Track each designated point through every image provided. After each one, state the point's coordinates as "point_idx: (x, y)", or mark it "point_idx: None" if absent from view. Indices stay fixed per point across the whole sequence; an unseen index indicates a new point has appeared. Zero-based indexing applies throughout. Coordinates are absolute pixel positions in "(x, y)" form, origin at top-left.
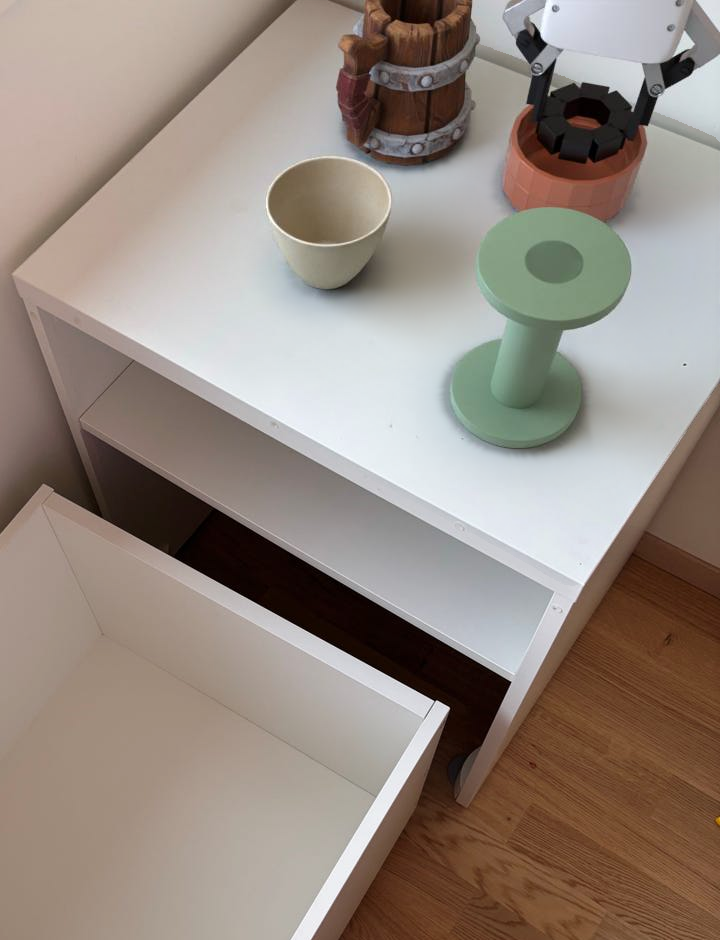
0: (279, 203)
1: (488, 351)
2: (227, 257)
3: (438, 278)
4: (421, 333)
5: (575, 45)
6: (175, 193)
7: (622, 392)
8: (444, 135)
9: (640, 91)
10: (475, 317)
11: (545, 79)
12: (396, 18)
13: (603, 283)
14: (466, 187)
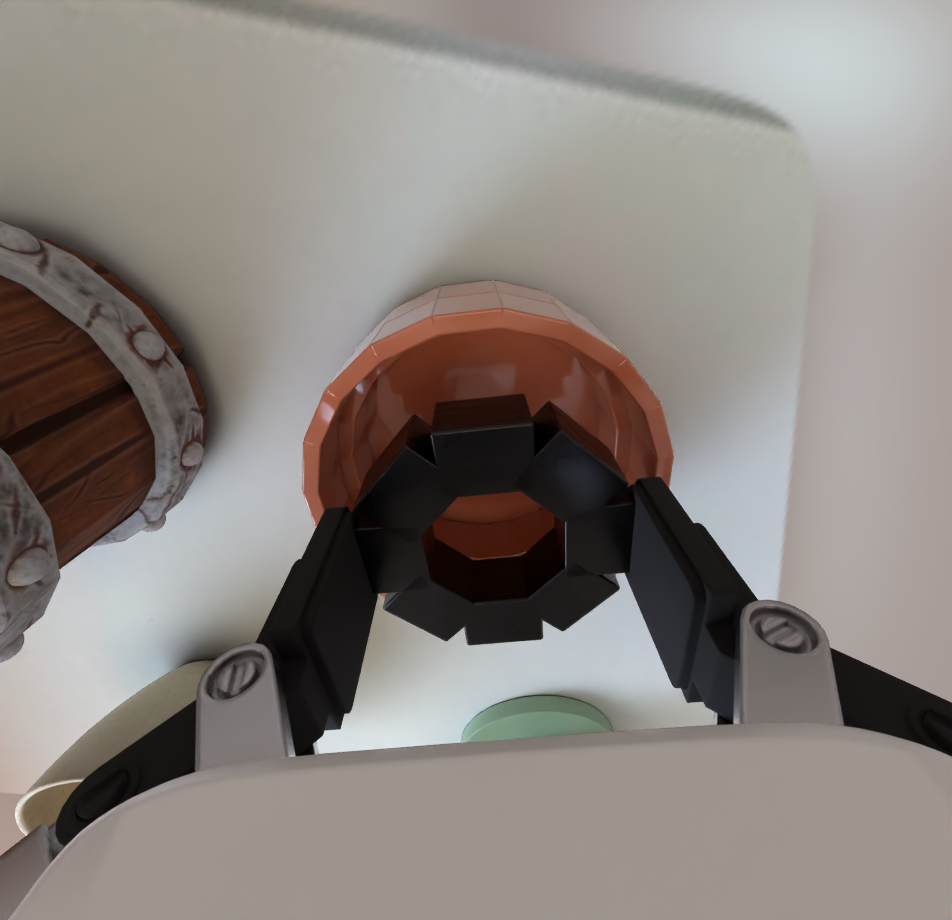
0: (73, 784)
1: (489, 736)
2: (90, 710)
3: (370, 654)
4: (396, 715)
5: None
6: None
7: (660, 704)
8: (174, 491)
9: (679, 671)
10: (449, 682)
11: (337, 727)
12: None
13: None
14: (302, 495)
